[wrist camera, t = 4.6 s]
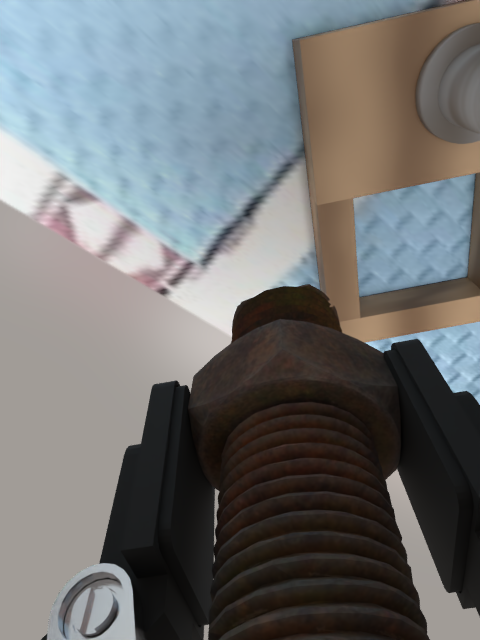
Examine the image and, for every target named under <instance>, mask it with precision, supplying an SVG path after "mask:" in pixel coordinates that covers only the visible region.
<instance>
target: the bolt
mask: <svg viewBox="0 0 480 640" xmlns="http://www.w3.org/2000/svg"><path fill="white" fill-rule="evenodd" d="M329 300H330V299H329V298H328V297H327V296H326V294H325V293H323V292H322V291H320V290H319V289H317V288H315V287H313V286H311V285H310V284H308V285H302V286H299V287H287V286H283V287H279V288H275V289H270V290H266V291H264V292H262V293H260V294H259V295H257V296H255V297H253V298H251V299H248V300H245V301H243V302H241V304H240V305H239V306H238V307H237V309H236V312H235V314H234V319H233V326H232V342H231V344H230V345H229V346H227V347H226V348H225V349H223V350H222V351H221V352H219V353H218V354H217V355H215V356H214V357H213V358H212V359H211V360H210V361H209V362H208V363H207V364H206V365H205V366H204V367H203V368H202V369H201V370H200V371H199V372H198V373H196V374H195V375H194V377H193V383H192V388H191V394H190V400H189V405H188V413H189V419H190V425H191V431H192V437H193V441H194V445H195V448H196V452H197V456H198V460H199V463H200V465H201V468H202V470H203V473H204V475H205V477H206V478H207V480H208V481H209V482H210V484H211V485H212V486H213V487H214V488H216V489H217V490H219V491H220V492H219V495H218V504H219V508H218V510H217V523H218V524H217V527H216V529H215V535H216V540H217V541H216V544H215V546H214V555H215V562H214V564H213V566H212V574H213V579H214V580H213V583H212V585H211V589H210V594H211V599H212V605H211V607H210V609H209V634H208V637H209V638H208V640H430V639H429V637H428V635H427V622H426V619H425V617H424V615H423V614H422V612H421V610H420V600H419V595H418V592H417V590H416V589H415V587H414V585H413V581H412V573H411V567H410V566H409V565H408V564H407V554H406V550H405V548H404V546H403V544H402V543H401V541H402V537H401V534H400V531H399V529H398V526H397V524H396V521H395V514H394V509H393V508H392V505H391V500H390V496H389V492H388V491H387V485H386V481H385V480H386V479H387V478H388V477H389V476H390V475H391V474H392V473H393V472H394V471H395V470H396V469H397V466H398V463H399V460H400V453H401V416H400V405H399V395H398V386H397V384H396V382H395V380H394V377H393V375H392V373H391V371H390V369H389V367H388V365H387V363H386V361H385V359H384V353H382V352H380V351H379V350H377V349H375V348H373V347H371V346H369V345H368V344H366V343H364V342H362V341H360V340H358V339H356V338H354V337H351V336H349V335H346V334H344V333H342V329H341V327H340V322H339V317H338V314H337V310H336V308H335V306H332V307H329V306H330V305H331V304H330V303H329V302H328V301H329Z"/></svg>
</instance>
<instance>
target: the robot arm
mask: <svg viewBox="0 0 480 640" xmlns="http://www.w3.org/2000/svg"><path fill="white" fill-rule="evenodd" d="M384 359H385V361H386V363H387V365H388V367H389V369H390V371H391V373H392V375H393V377H394V380H395V382H396V384H397V386H398V395H399V405H400V416H401V453H400V460H399V463H398V466H397V469H398V472H399V475H400V477H401V480H402V482H403V485H404V487H405V489H406V492H407V495H408V497H409V500H410V502H411V505H412V507H413V510H414V512H415V515H416V517H417V520H418V523H419V525H420V528H421V530H422V533H423V535H424V538H425V540H426V543H427V545H428V548H429V550H430V553H431V555H432V558H433V560H434V563H435V565H436V568H437V571H438V573H439V576H440V578H441V581H442V583H443V585H444V588H445V589H446V591H447V592H448V593H452V592H456V593H457V596H458V598H459V601H460V603H461V605H462V608H463V609H467V608H475V607H476V609H477V611H478V614H479V616H480V405H479V403H478V402H477V401H476V399H475V398H474V397H473V395H472V394H471V393H469V392H468V391H463V392H457V393H453V392H452V391H451V389H450V387H449V386H448V384H447V383H446V381H445V380H444V378H443V376H442V375H441V373H440V372H439V370H438V368H437V367H436V365H435V364H434V362H433V360H432V359H431V357H430V356H429V354H428V353H427V351H426V349H425V348H424V346H423V345H422V343H421V342H420V340H418V339H414V340H409V341H403V342H397V343H393V344H392V346H391V350H388V351H384ZM189 400H190V392H189V389H188V386H187V385H185V386H180V384H179V382H178V381H171V382H166V383H160V384H154V385H153V387H152V390H151V395H150V401H149V406H148V411H147V416H146V421H145V426H144V431H143V437H142V442H141V444H138V445H132V446H129V447H128V448H127V449H126V452H125V454H124V459H123V463H122V468H121V472H120V476H119V480H118V484H117V489H116V493H115V498H114V502H113V507H112V511H111V515H110V520H109V524H108V529H107V533H106V537H105V542H104V546H103V550H102V555H101V559H100V563H99V564H97V565H92V566H90V567H88V568H86V569H84V570H82V571H80V572H79V573H78V574H77V575H75V576H74V577H73V578H72V579H70V580H69V581H68V582H67V584H66V585H65V586H64V587H63V589H62V590H61V591H60V592H59V594H58V596H57V598H56V600H55V602H54V604H53V606H52V609H51V613H50V618H49V623H48V633H47V634H46V635H45V636H44V637H43V638H42V639H41V640H203V637H204V625H208V624H209V609H210V607H211V605H212V599H211V594H210V589H211V585H212V583H213V574H212V566H213V564H214V501H215V488H214V487H213V486H212V485H211V484H210V482H209V481H208V480H207V478H206V477H205V475H204V473H203V470H202V468H201V465H200V463H199V460H198V456H197V452H196V448H195V445H194V441H193V437H192V431H191V425H190V419H189V413H188V405H189Z"/></svg>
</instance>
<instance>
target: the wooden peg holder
mask: <svg viewBox="0 0 480 640" xmlns="http://www.w3.org/2000/svg"><path fill="white" fill-rule="evenodd" d="M292 43H293V52H294V61H295V70H296V79H297V88H298V96H299V105H300V114H301V123H302V132H303V141H304V149H305V158H306V167H307V176H308V185H309V194H310V202H311V211H312V220H313V229H314V238H315V247H316V256H317V264H318V273H319V282H320V291H322V292H323V293H325V294H326V296H327V297H328V298H329V299H330V300H329V301H328V302H329V303H330V304H331V305H330V306H329V307H332V306H335V308H336V310H337V314H338V317H339V322H340V327H341V329H342V333H344V334H346V335H349V336H351V337H354V338H356V339H358V340H360V341H362V342H370V341H375V340H381V339H386V338H392V337H397V336H403V335H408V334H414V333H419V332H424V331H430V330H435V329H441V328H446V327H452V326H457V325H463V324H468V323H474V322H479V321H480V0H465V1H461V2H456V3H452V4H447V5H443V6H439V7H434V8H430V9H425V10H421V11H417V12H412V13H408V14H403V15H399V16H394V17H390V18H386V19H381V20H377V21H372V22H368V23H364V24H359V25H355V26H350V27H346V28H342V29H337V30H333V31H328V32H324V33H319V34H315V35H311V36H306V37H302V38H297V39H293V40H292ZM474 173H476V179H475V191H474V203H473V216H472V228H471V240H470V253H469V265H468V277H466V278H460V279H455V280H450V281H444V282H439V283H434V284H429V285H423V286H418V287H413V288H407V289H402V290H397V291H391V292H386V293H381V294H376V295H370V296H365V297H360V298H359V288H358V272H357V256H356V240H355V224H354V207H353V198H356V197H361V196H366V195H371V194H376V193H381V192H385V191H390V190H395V189H400V188H405V187H410V186H415V185H420V184H425V183H430V182H435V181H440V180H445V179H450V178H455V177H459V176H464V175H469V174H474Z"/></svg>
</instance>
